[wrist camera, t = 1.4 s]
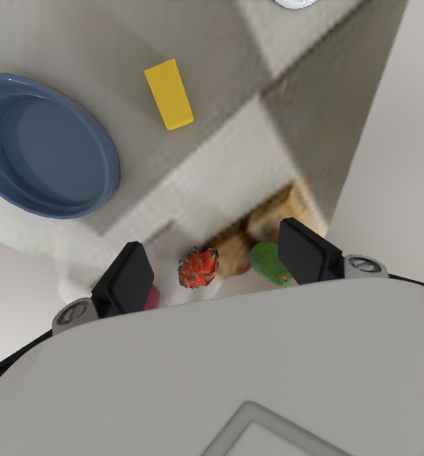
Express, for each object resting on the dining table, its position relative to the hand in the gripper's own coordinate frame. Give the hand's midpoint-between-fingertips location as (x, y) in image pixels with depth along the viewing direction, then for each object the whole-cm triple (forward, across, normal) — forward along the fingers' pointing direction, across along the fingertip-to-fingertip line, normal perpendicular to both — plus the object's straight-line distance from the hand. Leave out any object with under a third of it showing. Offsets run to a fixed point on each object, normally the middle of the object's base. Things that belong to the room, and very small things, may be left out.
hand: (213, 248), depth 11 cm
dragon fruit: (+23, +4, +18) cm, 30 cm away
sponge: (+23, +3, -14) cm, 27 cm away
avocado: (+23, -12, +18) cm, 32 cm away
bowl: (+23, +24, -8) cm, 34 cm away
